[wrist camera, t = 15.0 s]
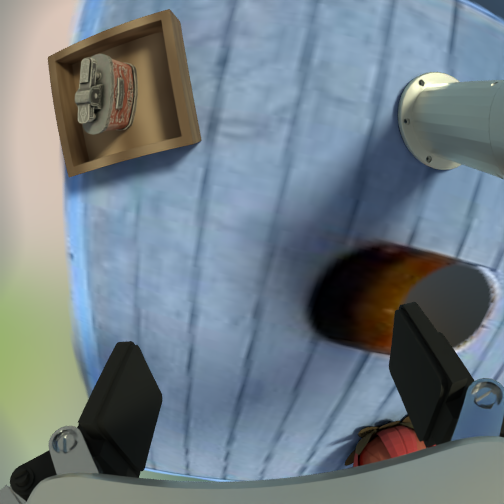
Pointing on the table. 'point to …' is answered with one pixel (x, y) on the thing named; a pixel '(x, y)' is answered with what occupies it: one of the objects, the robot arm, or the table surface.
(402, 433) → the decorative flower
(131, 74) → the lighter
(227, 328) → the table surface
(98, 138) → the walled box
